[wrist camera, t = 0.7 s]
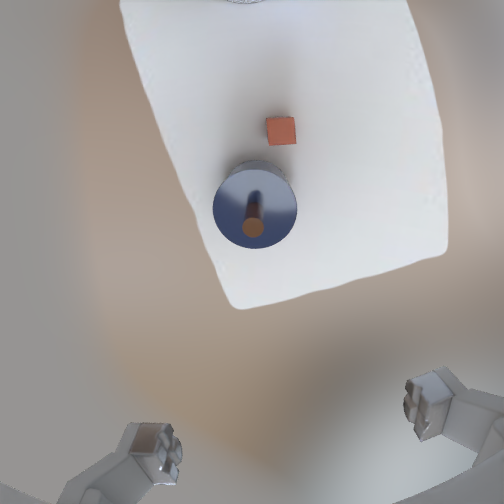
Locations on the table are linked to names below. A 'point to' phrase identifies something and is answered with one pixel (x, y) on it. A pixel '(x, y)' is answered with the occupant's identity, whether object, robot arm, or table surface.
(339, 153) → the table surface
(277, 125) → the block
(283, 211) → the lid
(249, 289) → the table surface
